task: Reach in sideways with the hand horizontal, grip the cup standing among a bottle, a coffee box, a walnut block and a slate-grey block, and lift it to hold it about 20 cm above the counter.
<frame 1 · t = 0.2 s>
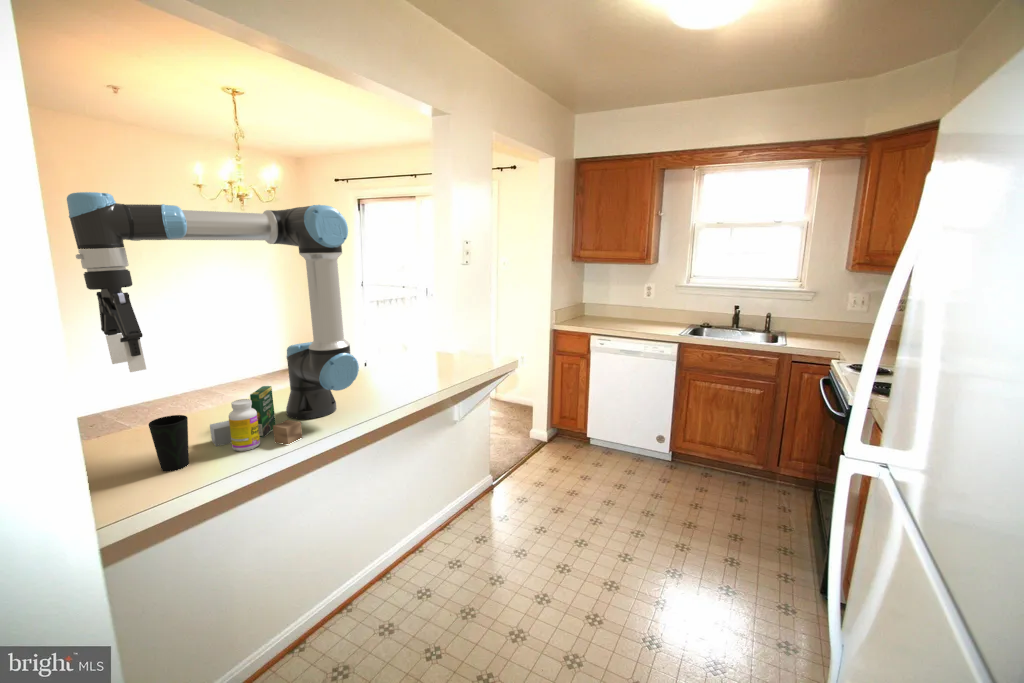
hand: (128, 366, 103), 27 cm above the table, tool pointing down, fingers open, 13 cm apart
supplement bottle: (246, 447, 127), on the table
cup: (175, 467, 116), on the table
grey block: (224, 441, 131), on the table
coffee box: (265, 433, 137), on the table
walnut block: (288, 440, 131), on the table
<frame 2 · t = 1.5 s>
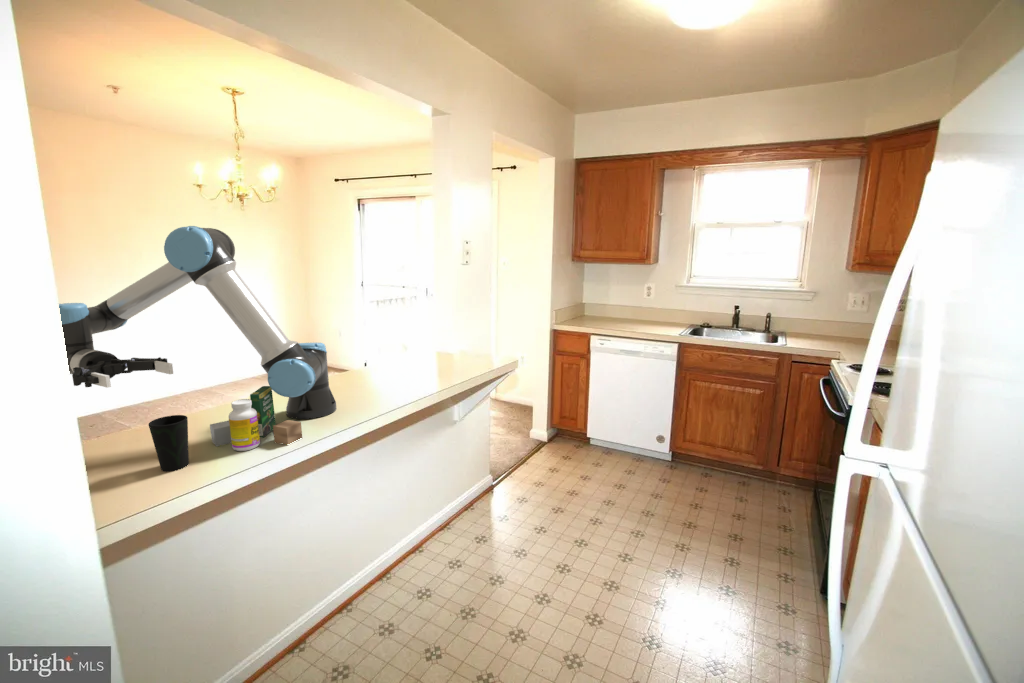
hand: (141, 375, 115), 22 cm above the table, tool horizontal, fingers open, 13 cm apart
nothing on the table moved.
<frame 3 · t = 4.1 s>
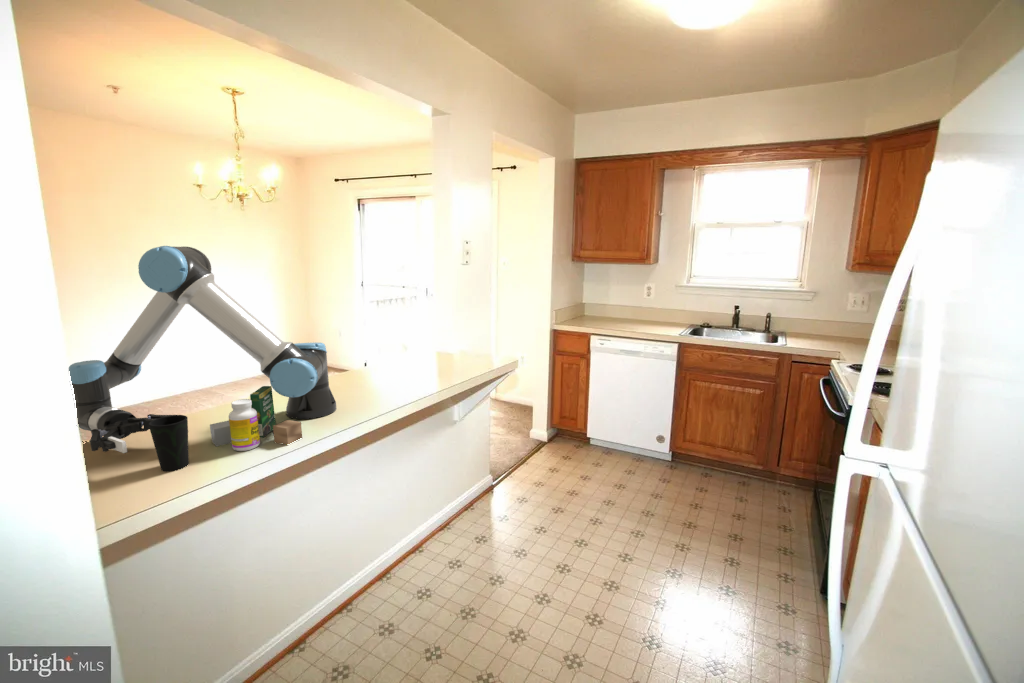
hand: (157, 437, 116), 7 cm above the table, tool horizontal, fingers open, 13 cm apart
nothing on the table moved.
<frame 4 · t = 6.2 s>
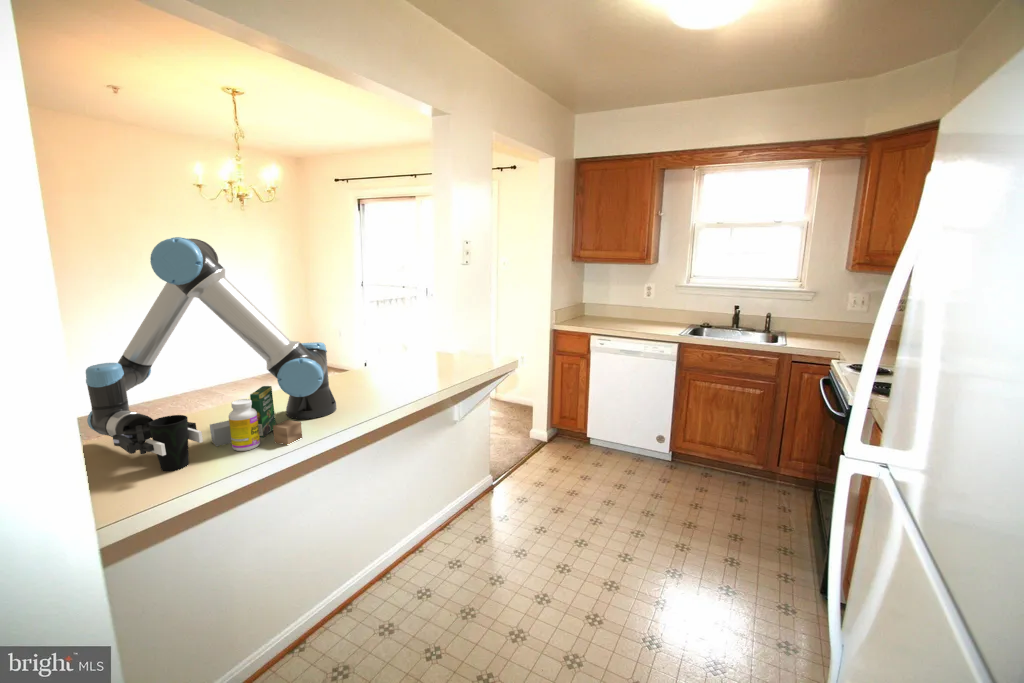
hand: (182, 443, 112), 7 cm above the table, tool horizontal, fingers closed on cup, 8 cm apart
cup: (175, 467, 116), on the table, touching gripper
everything else where it was.
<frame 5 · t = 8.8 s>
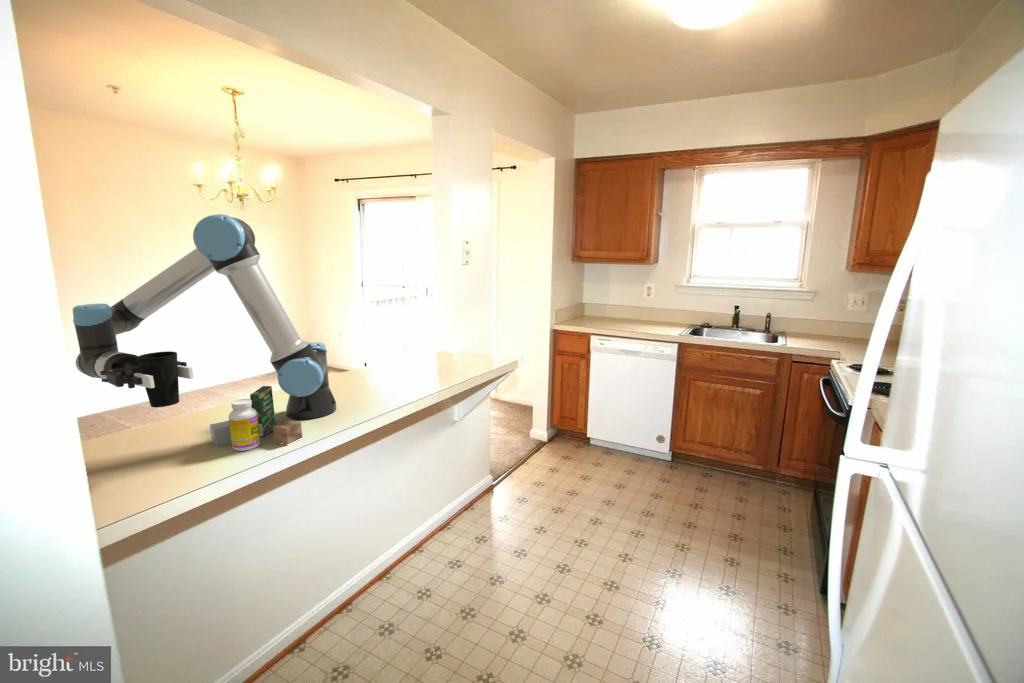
hand: (172, 377, 109), 23 cm above the table, tool horizontal, fingers closed on cup, 8 cm apart
cup: (165, 404, 112), point 16 cm above the table, touching gripper
everything else where it was.
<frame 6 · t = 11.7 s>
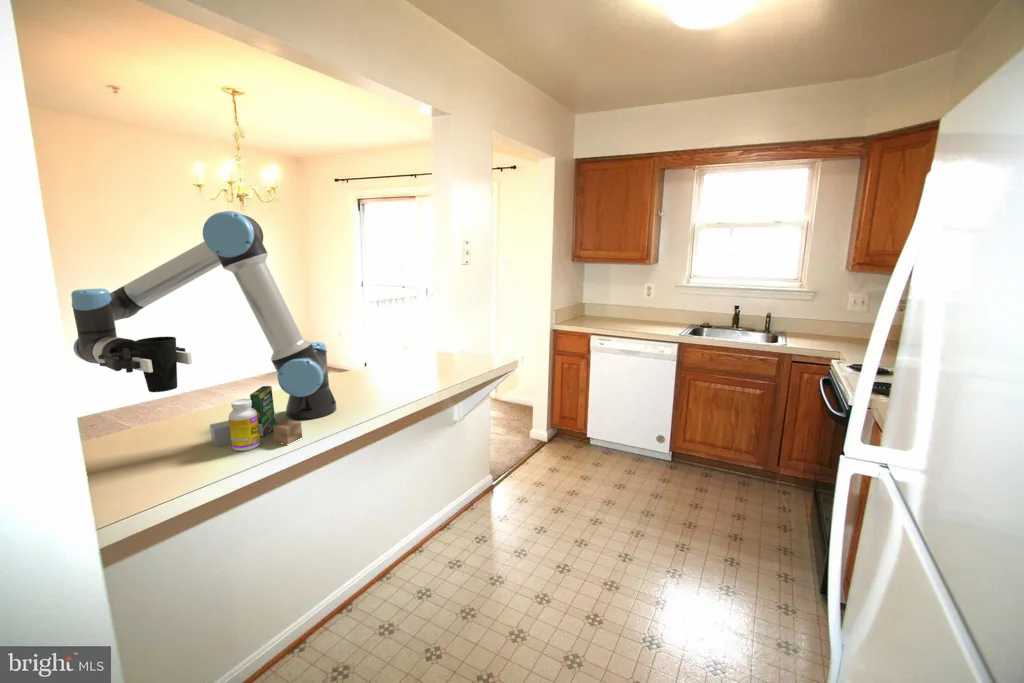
hand: (170, 362, 108), 27 cm above the table, tool horizontal, fingers closed on cup, 8 cm apart
cup: (163, 389, 112), point 20 cm above the table, touching gripper
everything else where it was.
at the end: the gripper is holding cup; cup point 19.7 cm above the table; supplement bottle moved 0.2 cm from its start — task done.
